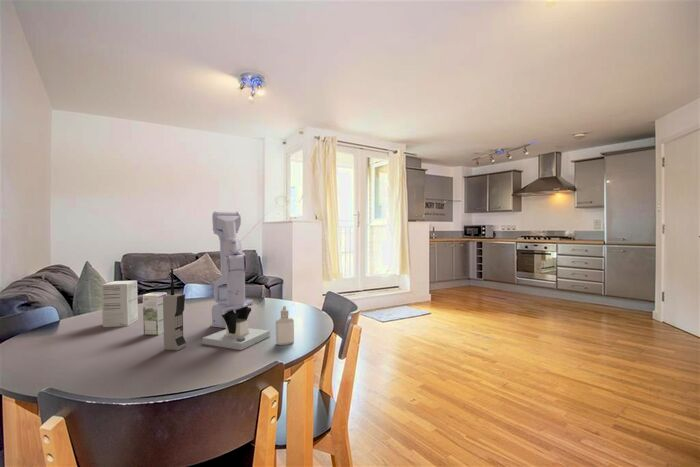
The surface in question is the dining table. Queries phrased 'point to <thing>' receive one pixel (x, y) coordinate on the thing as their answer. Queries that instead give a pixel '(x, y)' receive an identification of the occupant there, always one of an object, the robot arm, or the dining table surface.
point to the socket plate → (236, 339)
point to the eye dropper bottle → (284, 328)
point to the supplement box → (119, 303)
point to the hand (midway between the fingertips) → (236, 331)
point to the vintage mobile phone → (173, 319)
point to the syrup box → (153, 313)
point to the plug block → (239, 328)
